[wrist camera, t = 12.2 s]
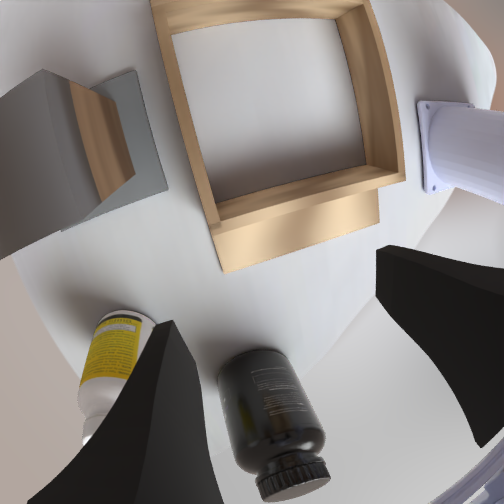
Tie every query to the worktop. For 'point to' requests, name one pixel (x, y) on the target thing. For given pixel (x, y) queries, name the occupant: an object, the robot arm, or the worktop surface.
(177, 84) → the wooden tray
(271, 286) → the worktop surface
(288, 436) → the supplement bottle
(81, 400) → the supplement bottle
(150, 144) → the pad
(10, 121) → the block
